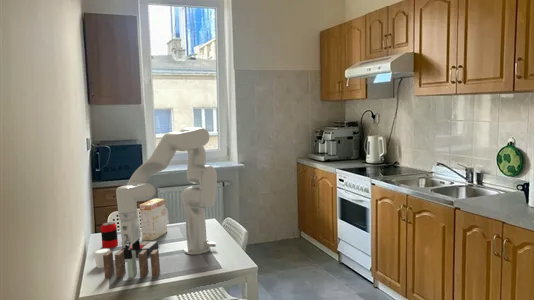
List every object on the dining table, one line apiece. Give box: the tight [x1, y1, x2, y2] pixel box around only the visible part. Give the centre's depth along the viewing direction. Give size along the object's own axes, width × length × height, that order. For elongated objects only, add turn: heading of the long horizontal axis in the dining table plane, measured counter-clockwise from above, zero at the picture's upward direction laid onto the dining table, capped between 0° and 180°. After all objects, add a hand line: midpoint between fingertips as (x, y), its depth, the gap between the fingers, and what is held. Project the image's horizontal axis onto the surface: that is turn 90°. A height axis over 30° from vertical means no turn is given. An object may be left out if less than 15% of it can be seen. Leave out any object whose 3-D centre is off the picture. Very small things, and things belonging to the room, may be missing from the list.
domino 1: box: [103, 250, 115, 279], centre depth 176 cm, size 2×5×10 cm, turn 178°
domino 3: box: [126, 250, 138, 279], centre depth 175 cm, size 2×5×10 cm, turn 179°
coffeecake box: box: [139, 198, 168, 241], centre depth 229 cm, size 15×7×20 cm, turn 162°
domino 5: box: [149, 249, 161, 277], centre depth 175 cm, size 2×5×10 cm, turn 178°
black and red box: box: [119, 240, 160, 257], centre depth 205 cm, size 11×4×15 cm
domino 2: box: [114, 250, 127, 279], centre depth 176 cm, size 2×5×10 cm, turn 178°
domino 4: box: [137, 250, 149, 278], centre depth 175 cm, size 2×5×10 cm, turn 178°
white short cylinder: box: [93, 248, 111, 269], centre depth 188 cm, size 7×7×7 cm
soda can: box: [100, 221, 119, 249], centre depth 215 cm, size 8×8×12 cm
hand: (132, 254), depth 176 cm, fingers open, 9 cm apart
